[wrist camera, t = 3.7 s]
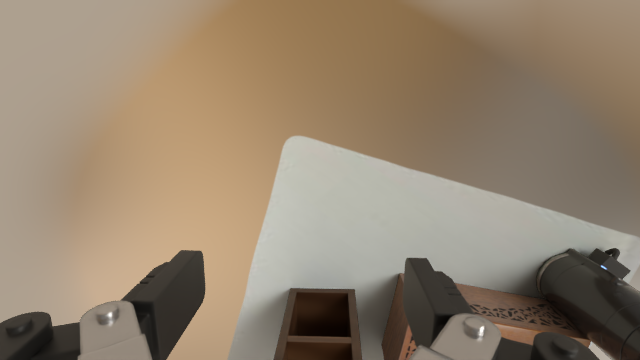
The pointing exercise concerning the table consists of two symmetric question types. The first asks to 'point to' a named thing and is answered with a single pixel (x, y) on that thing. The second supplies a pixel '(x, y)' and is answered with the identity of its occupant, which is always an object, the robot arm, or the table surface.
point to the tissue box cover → (498, 307)
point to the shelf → (320, 326)
